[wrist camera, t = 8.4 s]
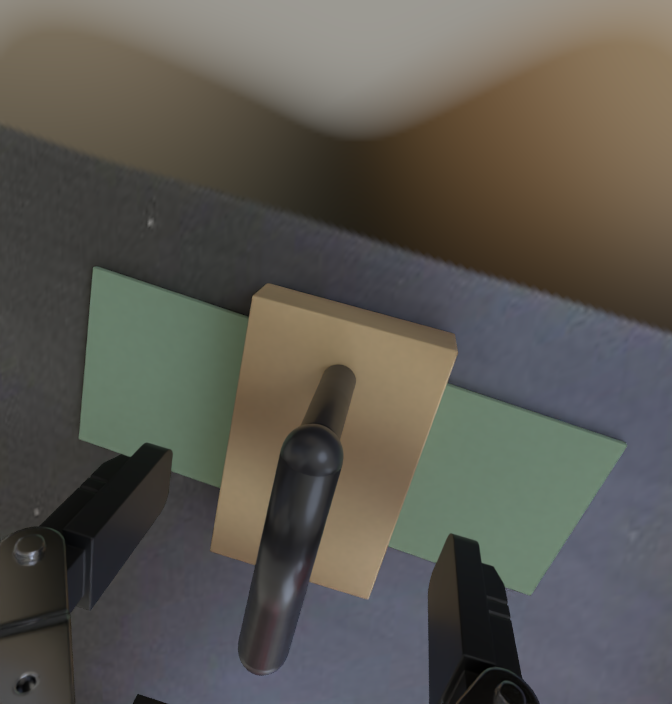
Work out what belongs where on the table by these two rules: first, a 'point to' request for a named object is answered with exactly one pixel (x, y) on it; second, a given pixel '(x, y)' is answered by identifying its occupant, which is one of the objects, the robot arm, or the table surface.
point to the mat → (434, 464)
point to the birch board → (321, 453)
